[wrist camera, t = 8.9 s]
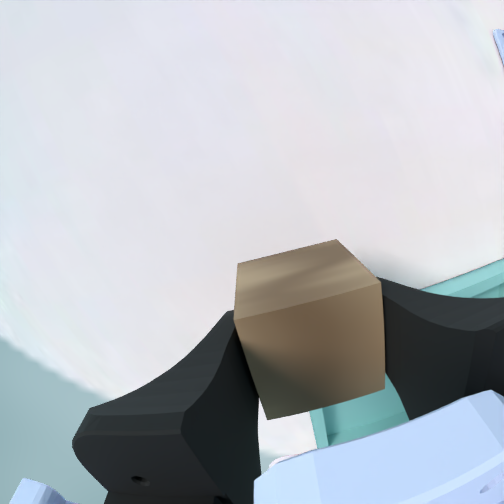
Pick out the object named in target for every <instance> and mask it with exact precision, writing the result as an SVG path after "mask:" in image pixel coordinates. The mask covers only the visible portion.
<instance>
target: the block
mask: <svg viewBox="0 0 504 504" xmlns="http://www.w3.org/2000/svg"><path fill="white" fill-rule="evenodd" d="M234 323H235V326H236V329H237V332H238V336H239V339H240V342H241V345H242V348H243V351H244V354H245V357H246V360H247V363H248V366H249V369H250V372H251V375H252V378H253V381H254V383H255V386H256V389H257V392H258V395H259V398H260V401H261V404H262V406H263V409H264V412H265V415H266V418H267V420H271V419H276V418H281V417H286V416H290V415H295V414H299V413H304V412H308V411H312V410H316V409H320V408H324V407H328V406H331V405H335V404H339V403H342V402H346V401H349V400H352V399H356V398H359V397H362V396H365V395H369V394H372V393H375V392H378V391H381V390H384V389H385V339H384V317H383V301H382V288H381V282H380V281H379V280H378V279H377V278H376V277H375V276H374V275H373V274H372V273H371V272H370V271H369V270H368V269H367V268H366V267H365V266H364V265H363V264H362V263H361V262H360V261H359V260H358V259H357V258H356V257H355V256H354V255H353V254H352V253H350V252H349V251H348V250H347V249H346V248H345V247H344V246H343V245H342V244H341V243H340V242H339V241H338V240H337V239H335V240H331V241H327V242H323V243H319V244H315V245H311V246H307V247H303V248H299V249H295V250H291V251H287V252H283V253H279V254H275V255H271V256H267V257H262V258H258V259H254V260H250V261H246V262H242V263H238V265H237V279H236V292H235V306H234Z"/></svg>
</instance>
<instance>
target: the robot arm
mask: <svg viewBox="0 0 504 504" xmlns="http://www.w3.org/2000/svg"><path fill="white" fill-rule="evenodd" d="M493 35H494V38H495V41H496V43H497V46H498V49H499V52H500V55H501V58H502V61H503V64H504V30H500V29H496V30H494V31H493ZM376 278H377V279H378V280H379V281H380V282H381V288H382V301H383V317H384V339H385V373H386V375H387V376H388V378H389V379H390V381H391V383H392V384H393V386H394V388H395V389H396V391H397V393H398V395H399V397H400V399H401V402H402V404H403V406H404V409H405V411H406V413H407V416H408V418H409V421H408V422H405V423H402V424H399V425H397V426H394V427H391V428H388V429H385V430H382V431H379V432H376V433H373V434H370V435H367V436H364V437H360V438H357V439H353V440H350V441H346V442H343V443H339V444H335V445H331V446H327V447H323V448H319V449H314V450H311V451H308V452H305V453H303V454H300V455H297V456H294V457H291V458H288V459H285V460H282V461H279V462H278V463H276V464H275V465H274V466H272V467H271V468H270V469H269V470H267V471H266V472H265V473H263V474H262V475H261V466H260V455H259V442H258V408H259V395H258V392H257V389H256V386H255V383H254V381H253V378H252V375H251V372H250V369H249V366H248V363H247V360H246V357H245V354H244V351H243V348H242V345H241V342H240V339H239V336H238V332H237V329H236V326H235V323H234V310H232V311H227V312H226V313H225V314H224V315H223V316H222V318H221V319H220V320H219V321H218V322H217V324H216V325H215V326H214V327H213V328H212V330H211V331H210V332H209V333H208V334H207V335H206V336H205V338H204V339H203V340H202V341H201V342H200V343H199V344H198V345H197V346H196V347H195V348H194V349H193V350H192V351H191V352H190V353H189V354H188V355H187V356H186V357H184V358H183V359H182V360H181V361H180V362H178V363H177V364H176V365H175V366H173V367H172V368H171V369H169V370H168V371H166V372H165V373H163V374H162V375H160V376H159V377H157V378H156V379H154V380H153V381H151V382H149V383H148V384H146V385H144V386H142V387H140V388H139V389H137V390H135V391H133V392H131V393H128V394H126V395H124V396H122V397H119V398H117V399H114V400H112V401H109V402H106V403H104V404H101V405H98V406H95V407H92V408H90V409H89V410H88V412H87V414H86V416H85V418H84V420H83V421H82V423H81V425H80V427H79V429H78V431H77V433H76V434H75V436H74V438H73V440H72V448H73V450H74V452H75V455H76V457H77V458H78V460H79V461H80V462H81V463H82V465H83V466H84V467H85V468H86V469H87V470H88V472H89V473H90V474H91V475H92V476H93V477H94V478H95V479H96V480H98V482H99V483H100V484H101V485H102V486H103V487H104V488H105V489H107V491H108V494H107V497H106V500H105V502H104V504H504V297H500V298H463V297H454V296H447V295H440V294H435V293H430V292H426V291H422V290H418V289H414V288H411V287H407V286H404V285H401V284H398V283H395V282H392V281H389V280H386V279H382V278H379V277H376ZM9 504H78V503H74V502H70V501H66V500H65V499H64V497H63V496H61V495H60V493H58V492H57V491H56V490H55V489H53V488H52V487H50V486H48V485H46V484H44V483H41V482H37V481H34V480H31V479H27V478H23V479H22V481H21V483H20V484H19V486H18V488H17V490H16V492H15V494H14V496H13V497H12V499H11V501H10V503H9Z"/></svg>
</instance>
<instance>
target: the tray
mask: <svg viewBox="0 0 504 504" xmlns="http://www.w3.org/2000/svg"><path fill="white" fill-rule="evenodd" d="M420 290H422V291H426V292H430V293H435V294H440V295H447V296H454V297H463V298H500V297H504V258H503V259H501V260H498V261H496V262H493V263H491V264H488V265H486V266H483V267H481V268H478V269H476V270H473V271H470V272H468V273H465V274H463V275H460V276H457V277H454V278H452V279H449V280H446V281H443V282H441V283H438V284H435V285H432V286H429V287H426V288H423V289H420ZM309 412H310V416H311V421H312V425H313V430H314V434H315V439H316V444H317V448H318V449H319V448H323V447H327V446H331V445H335V444H339V443H343V442H346V441H350V440H353V439H357V438H360V437H364V436H367V435H370V434H373V433H376V432H379V431H382V430H385V429H388V428H391V427H394V426H397V425H399V424H402V423H405V422H408V421H409V418H408V416H407V413H406V411H405V409H404V406H403V404H402V402H401V399H400V397H399V395H398V393H397V391H396V389H395V388H394V386H393V384H392V383H391V381H390V379H389V378H388V376H387V375H386V373H385V389H384V390H381V391H378V392H375V393H372V394H369V395H365V396H362V397H359V398H356V399H352V400H349V401H346V402H342V403H339V404H335V405H331V406H328V407H324V408H320V409H316V410H312V411H309Z"/></svg>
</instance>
